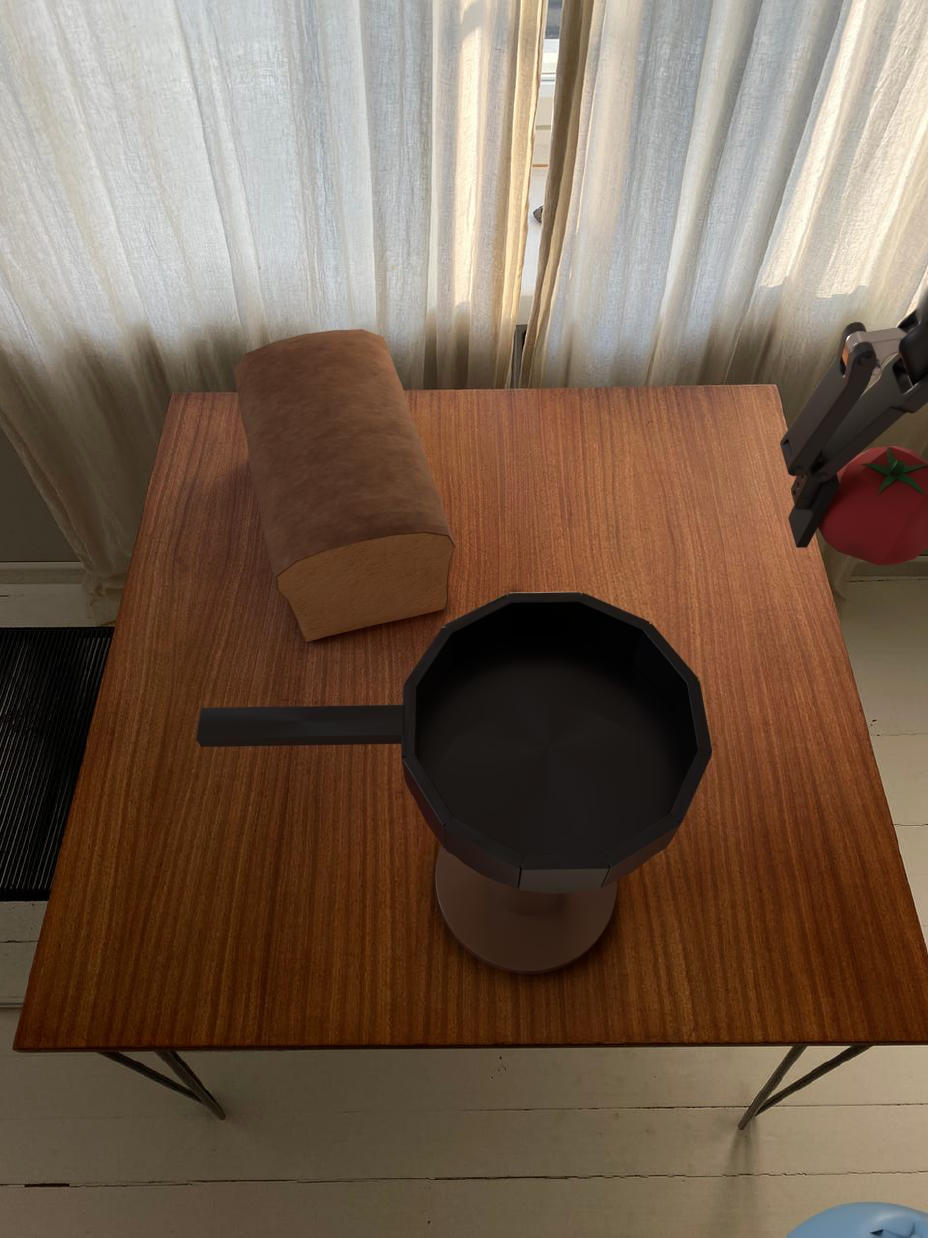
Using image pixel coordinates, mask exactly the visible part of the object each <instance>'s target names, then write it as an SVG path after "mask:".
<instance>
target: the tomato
mask: <svg viewBox="0 0 928 1238" xmlns="http://www.w3.org/2000/svg"><path fill="white" fill-rule="evenodd" d="M837 476H838V479H839V482H840V487H839V488H838V490H837V492H836V494H835V496H834V498H833V500H832V502H831V503H830V505H829V507H828V509H827V511H826V513H825V515H824V517H823V519H822V520H821V522H820V524H819V526H818V528H817V529H818V530H819V532H820V534H821V536H822V537H823V540H824V542H826V543H827V544H828V545H829V546H830V547H832V549H834V550H835V551H837V552H838V553H841V554H844V555H846V556H849V557H853V558H856V559H858V560H861V561H864V562H867V563H869V564H873V565H876V566H893V565H899V564H903V563H906V562H910V561H914V560H915V559H917V558H918V557H919V556H920V555H921V554H922V553H924V552H925V551H926V550H927V549H928V461H927V459H925V458H924V457H922V456H921V455H920V454H919V453H918V452H916V451H914V450H913V449H910V448H906V447H901V446H896V445H890V446H881V447H880V446H879V447H871V448H869V449H867V450H864V451H862V452H860V453H859V454H858V455H857V456H856V457H855V458H854V459H852V460H851V461H850V462H849V463H848V464H847V465H846V466H844V467H843V468H842V469H841V470H840V471H839V472H838V473H837Z"/></svg>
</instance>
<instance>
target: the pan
mask: <svg viewBox="0 0 928 1238" xmlns="http://www.w3.org/2000/svg"><path fill="white" fill-rule="evenodd" d="M195 740H196V742H197V743H198V744H199V746H200V748H221V747H222V748H225V747H226V748H228V747H229V748H230V747H288V746H289V747H291V746H292V747H293V746H298V747H299V746H352V745H354V746H357V745H359V746H360V745H401V749H400V758H401V764H402V770H403V775H404V780H405V784H406V787H407V789H408V790H409V792H410V794H411V796H412V797H413V799H414V800H415V802H416V805H417V808H418V809H419V811H420V813H421V816H422V817H423V819H424V821H425V823H426V824H427V826H428V827H429V829H430V830H431V832H432V833H433V835H434V836H435V837H436V839H437V840H438V841H439V843H440V846H439V850H438V853H437V858H436V862H435V873H434V879H435V880H434V882H435V892H436V897H437V903H438V906H439V909H440V912H441V915H442V918H443V919H444V921H445V924H446V926H447V928H448V929H449V931H450V932H451V934H452V935H453V937H454V938H455V939H456V940H457V942H459V944H460V945H461V947H463V949H465V950H466V951H467V952H468V953H470V954H471V956H473V957H475V958H476V959H477V960H479V961H481V962H482V963H484V964H486V965H488V966H490V967H492V968H495V969H498V970H500V971H503V972H507V973H512V974H516V975H517V974H518V975H540V974H546V973H549V972H554V971H557V970H559V969H562V968H564V967H567V966H568V965H571V964H573V963H574V962H577V960H579V959H580V958H581V957H583V956H584V955H585V954H587V953H588V951H590V949H591V948H592V947H593V946H594V945H595V944H596V943H597V942H598V940H599V939H600V937H601V936H602V934H603V933H604V931H605V929H606V927H607V925H608V924H609V922H610V920H611V917H612V914H613V911H614V908H615V904H616V900H617V893H618V881H619V880H620V879H623V878H624V877H626V876H628V875H630V874H632V873H633V872H635V871H636V870H638V869H639V868H640V867H642V866H643V865H644V864H645V863H647V862H649V861H650V860H651V858H653V857H655V856H656V855H658V854H659V853H661V852H663V850H665V849H667V848H668V847H669V845H670V844H671V842H672V841H673V839H674V837H675V835H676V834H677V832H678V830H679V829H680V828H681V825H682V824H683V822H684V820H685V817H686V816H687V814H688V813H687V812H688V811H689V809H690V807H691V804H692V801H693V799H694V798H695V794H696V792H697V790H698V788H699V786H700V783H701V781H702V779H703V776H704V774H705V772H706V770H707V768H708V765H709V762H710V760H711V758H712V756H713V754H712V753H713V745H712V741H711V735H710V730H709V725H708V719H707V713H706V709H705V701H704V697H703V691H702V685H701V681H700V680H699V677H698V676H697V675H696V674H695V672H694V671H693V670H692V669H691V668H690V666H689V665H687V663H686V662H685V661H684V660H683V658H682V657H681V656H680V654H678V653H677V651H676V650H675V649H674V647H672V645H671V644H670V643H669V642H668V641H667V639H665V637H664V636H663V635H662V634H661V632H660V631H659V630H658V628H657V627H656V626H655V625H654V624H653V623H652V622H650V621H649V620H647V619H645V618H642V617H640V616H638V615H636V614H633V613H631V612H629V611H628V610H624V609H622V608H620V607H618V606H615V605H613V604H611V603H608V602H606V601H604V600H601V599H599V598H597V597H595V596H593V595H590V594H588V593H586V592H581V591H540V592H539V591H535V592H534V591H533V592H508V594H507V593H505V594H502V595H500V596H499V597H496V598H495V599H492V600H490V601H489V602H487V603H485V604H483V605H481V606H479V607H477V608H475V609H473V610H471V611H469V612H466V613H465V614H463V615H461V616H459V617H458V618H455V619H453V620H451V621H449V622H446V623H445V624H444V626H442V627H440V629H439V631H437V634H436V635H435V637H434V638H433V640H432V641H431V642H430V644H429V645H428V647H427V649H426V650H425V651H424V652H423V655H422V656H421V658H420V659H419V660H418V662H417V663H416V665H415V666H414V668H413V669H412V671H411V672H410V674H409V675H408V676H407V678H406V680H405V681H404V683H403V685H402V704H356V705H355V704H354V705H353V704H352V705H350V704H349V705H348V704H347V705H290V706H289V705H288V706H287V705H285V706H279V705H278V706H226V707H225V706H224V707H223V706H219V707H200V712H199V717H198V723H197V728H196V734H195Z"/></svg>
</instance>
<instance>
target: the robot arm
mask: <svg viewBox="0 0 928 1238" xmlns="http://www.w3.org/2000/svg"><path fill="white" fill-rule="evenodd" d="M892 355H893V356H892ZM890 356H892V357H891V358H889V357H890ZM888 358H889V360H888V361H887V362H886V363H884V362H885V361H886V360H887V359H888ZM883 364H884V365H883ZM878 375H879V377H878V378H877V380H875V381H874V382H873V383H872V384H871V385H870V386H869V383H870V381H871V378H872V376H873V377H874V376H878ZM867 387H868V388H867ZM927 404H928V271H927V272H926V274H925V277H924V279H923V282H922V286H921V289H920V293H919V296H918V299H917V301H916V303H915V306H913V308H912V309H911V310H910V311H909V312H908V313H907V314H906V315H905V316H903V317H902V318H901V319H900V320H899V321H898V323H897V324H896V326H895V327H892V328H891V327H890V328H884V329H877V330H870V331H867V328H866V326H865V324H864V323H863V322H860V321H853V322H851V323H849V324H847V325H846V326H844V328H843V329H842V332H841V335H840V340H839V344H838V349H837V353H836V356H835V358H834V359H833V361H832V362H831V364H830V365H829V366H828V368H827V370H826V372H825V373H824V375H823V376H822V378H821V379H820V381H819V382H818V384H816V387H815V388H814V389H813V391H812V393H811V394H810V396H809V397H808V399H807V400H806V402H805V403H804V404H803V406H802V408H801V410H799V412H798V414H797V415H796V417H795V419H794V420H793V421H792V423H791V424H790V426H789V427H788V429H787V430H786V432H785V434H784V435H783V437H782V438H781V440H780V441H779V446H780V449H781V454H782V457H783V461H784V464H785V467H786V470H787V474H788V475H789V476H791V477H795V479H794V480H793V483H792V484H791V487H790V493H791V494H790V495H791V498H792V501H793V506H792V509H791V511H790V512H789V514H788V516H787V519H788V523H789V527H790V530H791V533H792V538H793V540H794V544H795V548H796V549H803V548H804V549H805V548H808V547H809V545H810V543H811V541H812V539H813V537H814V536H815V534H816V532H817V529H818V526H819V524H820V522H821V520H822V519H823V517H824V515H825V513H826V511H827V509H828V507H829V505H830V503H831V502H832V500H833V498H834V496H835V494H836V492H837V490H838V488H839V487H840V482H839V479H838V476H837V473H838V472H839V471H840V470H841V469H842V468H843V467H844V466H846V465H847V464H848V463H849V462H850V461H851V460H852V459H854V458H855V457H856V456H857V455H859V454H861V453H863V452H864V451H865V449H867V448H868V447H869V446H870V445H871V444H872V443H873V442H875V440H877V438H879V437H880V436H881V435H883V433H885V432H886V431H887V430H888V429H890V428H891V427H892V426H893V425H894V424H895V423H896V422H897V421H898V420H899V419H901V418H902V417H903V416H904V415H906V414H907V413H908V414H911V415H912V414H915V413H917V412H919V411H920V410H921V409H922V408H923V407H924V406H925V405H927ZM784 1238H928V1212H926V1211H923V1210H919V1209H916V1208H913V1207H909V1206H906V1205H902V1204H898V1203H891V1202H884V1201H855V1202H848V1203H842V1204H838V1205H835V1206H831V1207H829V1208H827V1209H824V1210H822V1211H820V1212H818V1213H815V1214H814V1215H812V1216H810V1217H809V1218H807V1219H805V1220H804V1221H802V1222H801V1223H800V1224H797V1226H795V1227H794V1228H793V1229H792V1230H790V1232H788V1233H787V1234H786V1236H784Z"/></svg>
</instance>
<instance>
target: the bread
mask: <svg viewBox="0 0 928 1238" xmlns="http://www.w3.org/2000/svg"><path fill="white" fill-rule="evenodd" d="M233 373H234V379H235V384H236V391H237V397H238V398H237V399H238V405H239V411H240V418H241V422H242V426H243V429H244V433H245V437H246V445H247V451H248V452H247V453H248V459H249V466H250V474H251V480H252V484H253V488H254V491H255V496H256V502H257V507H258V511H259V514H260V518H261V521H262V529H263V540H264V544H265V548H266V551H267V554H268V559H269V562H270V567H271V571H272V577H273V582H274V585H275V588H276V591H277V592H278V593H279V594H280V595H281V596H282V597H283V598H284V599H285V600H286V601H287V604H288V606H289V608H290V611H291V612H292V615H293V616H294V618H295V621H296V624H297V626H298V629H299V632H300V635H301V636H302V638H303V641H304V643H308V642H312V641H316V640H319V639H323V638H326V637H327V638H328V637H331V636H335V635H339V634H343V633H346V632H347V633H348V632H351V631H356V630H359V629H363V628H367V627H368V628H369V627H372V626H376V625H380V624H385V623H390V622H395V621H399V620H405V619H408V618H413V617H417V616H421V615H426V614H430V613H434V612H438V611H441V610H445V609H447V606H448V602H449V601H448V600H449V586H448V585H449V584H448V583H449V575H450V569H451V568H450V567H451V560H452V557H453V555H454V551H455V549H456V543H455V538H454V536H453V533H452V530H451V527H450V523H449V520H448V517H447V515H446V511H445V510H446V509H445V508H444V507H445V506H444V504H443V500H442V498H441V496H440V493H439V492H438V489H437V488H436V487H437V486H436V485H435V481H434V478H433V472H432V469H431V466H430V463H429V462H428V458H427V456H426V452H425V447H424V444H423V439H422V438H421V435H420V433H419V430H418V428H417V426H416V423H415V421H414V417H413V416H412V413H411V411H410V408H409V406H408V403H407V399H406V396H405V391H404V388H403V385H402V382H401V380H400V378H399V375H398V372H397V369H396V367H395V365H394V361H393V359H392V356H391V353H390V350H389V347H388V344H387V341H386V340H385V337H384V336H381V335H379V334H376V333H374V332H372V331H371V332H370V331H368V330H364V329H362V328H358V329H355V328H354V329H333V330H324V331H317V332H310V333H302V334H299V335H294V336H291V337H288V338H284V339H280V340H277V341H273V342H271V343H270V342H269V343H267V344H266V345H263V346H260V347H258V348H255V349H253V350H250V351H248V352H246V353H245V354H244V355H243V356H242V358H241V359H240V360H239V361H238V363H237V364H236V366H235V367H234V368H233Z"/></svg>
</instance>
